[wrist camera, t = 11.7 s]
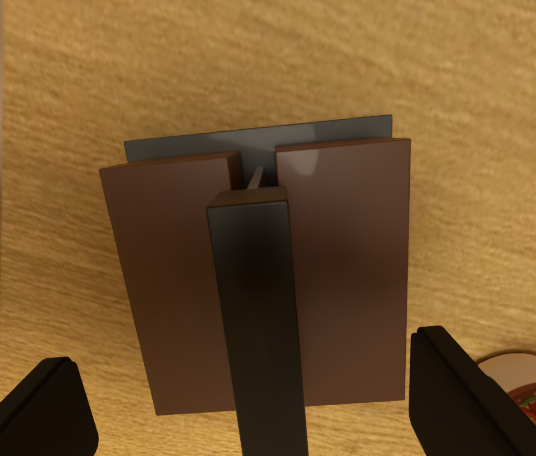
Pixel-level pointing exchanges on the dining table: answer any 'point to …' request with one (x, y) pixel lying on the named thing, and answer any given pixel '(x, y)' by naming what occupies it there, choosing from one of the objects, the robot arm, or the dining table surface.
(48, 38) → the dining table surface
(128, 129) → the dining table surface
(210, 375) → the brown blocks on tray
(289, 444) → the knife
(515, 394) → the milk bottle
